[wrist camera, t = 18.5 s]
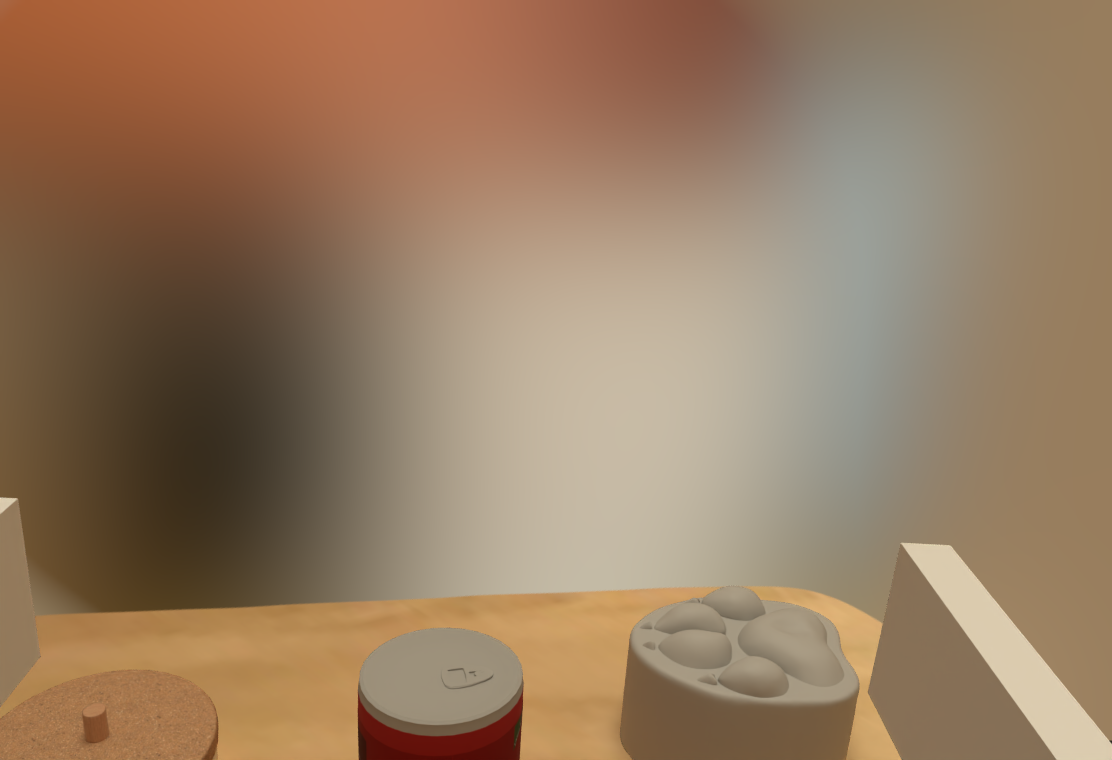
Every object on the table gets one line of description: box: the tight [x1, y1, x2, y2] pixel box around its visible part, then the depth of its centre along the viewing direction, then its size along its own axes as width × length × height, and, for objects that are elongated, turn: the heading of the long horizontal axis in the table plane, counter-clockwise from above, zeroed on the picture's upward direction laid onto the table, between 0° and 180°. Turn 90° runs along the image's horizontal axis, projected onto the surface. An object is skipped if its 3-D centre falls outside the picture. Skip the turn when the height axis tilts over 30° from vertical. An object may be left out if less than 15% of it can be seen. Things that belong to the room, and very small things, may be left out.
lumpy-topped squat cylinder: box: [620, 586, 859, 760], centre depth 57 cm, size 10×13×9 cm
